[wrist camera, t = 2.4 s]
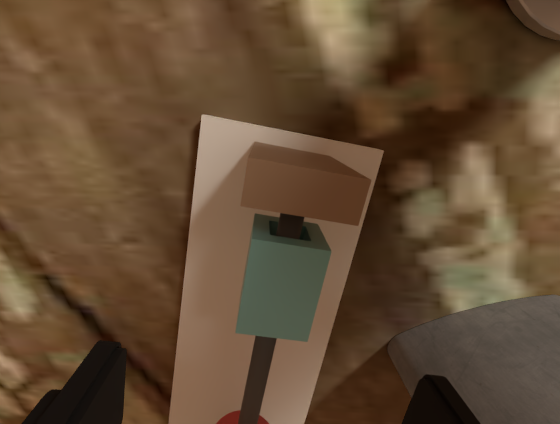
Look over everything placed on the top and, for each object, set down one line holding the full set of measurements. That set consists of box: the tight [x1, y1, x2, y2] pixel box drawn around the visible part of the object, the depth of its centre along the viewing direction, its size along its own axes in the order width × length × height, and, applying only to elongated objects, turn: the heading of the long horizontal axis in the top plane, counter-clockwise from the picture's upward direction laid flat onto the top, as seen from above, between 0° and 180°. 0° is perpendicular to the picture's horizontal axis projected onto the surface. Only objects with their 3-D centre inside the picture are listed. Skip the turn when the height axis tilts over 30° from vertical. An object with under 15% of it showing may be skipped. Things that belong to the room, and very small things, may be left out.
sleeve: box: [235, 213, 332, 342], centre depth 15 cm, size 5×4×4 cm
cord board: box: [168, 114, 384, 424], centre depth 20 cm, size 30×12×10 cm, turn 169°
